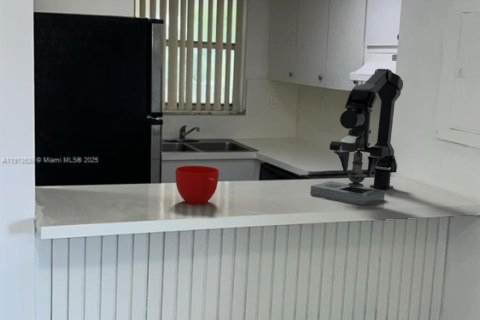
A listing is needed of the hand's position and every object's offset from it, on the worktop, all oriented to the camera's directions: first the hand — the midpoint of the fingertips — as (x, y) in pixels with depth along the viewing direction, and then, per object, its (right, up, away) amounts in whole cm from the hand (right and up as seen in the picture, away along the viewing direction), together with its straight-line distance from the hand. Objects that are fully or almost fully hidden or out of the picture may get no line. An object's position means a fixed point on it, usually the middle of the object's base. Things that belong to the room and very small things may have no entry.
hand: (356, 174), depth 193 cm
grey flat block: (-3, -7, +3) cm, 9 cm away
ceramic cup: (-50, -8, -15) cm, 53 cm away
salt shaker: (0, -4, +1) cm, 4 cm away
